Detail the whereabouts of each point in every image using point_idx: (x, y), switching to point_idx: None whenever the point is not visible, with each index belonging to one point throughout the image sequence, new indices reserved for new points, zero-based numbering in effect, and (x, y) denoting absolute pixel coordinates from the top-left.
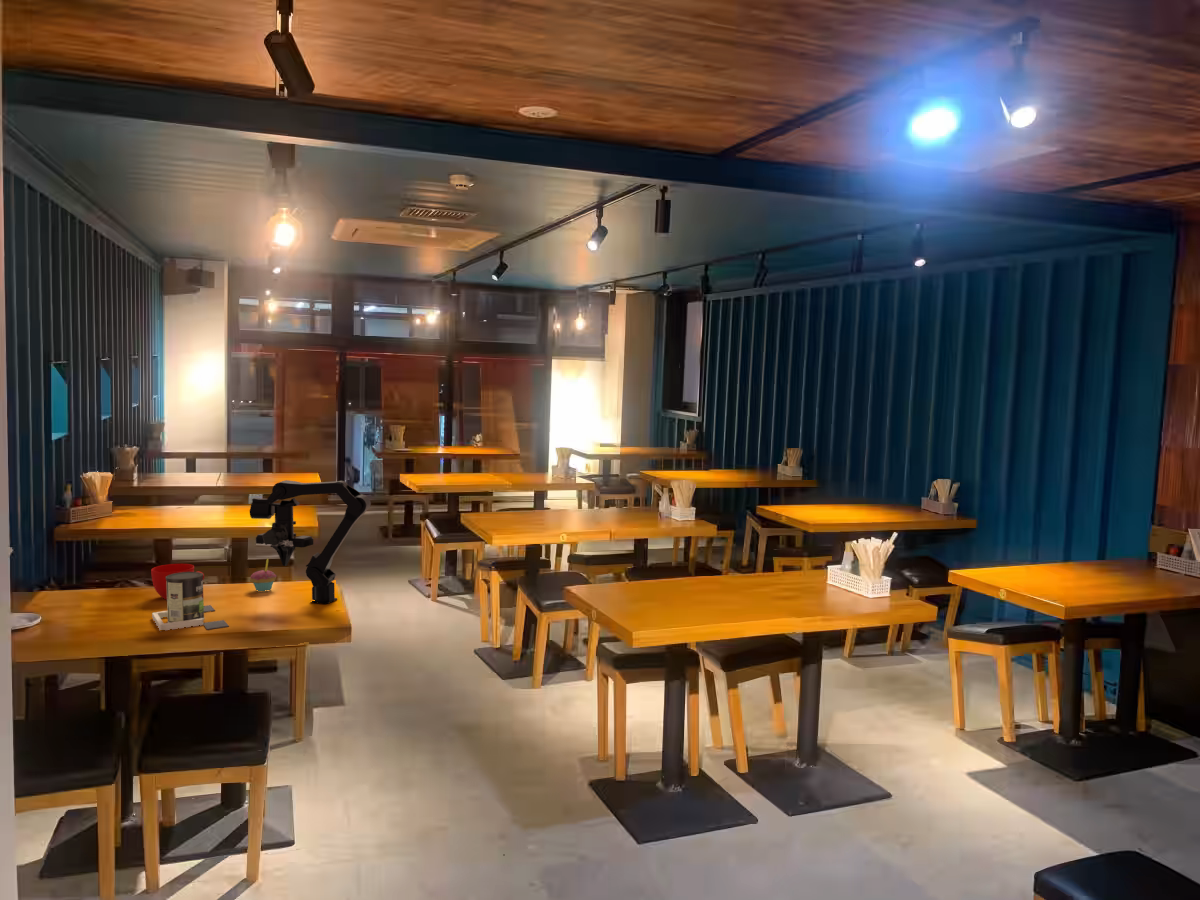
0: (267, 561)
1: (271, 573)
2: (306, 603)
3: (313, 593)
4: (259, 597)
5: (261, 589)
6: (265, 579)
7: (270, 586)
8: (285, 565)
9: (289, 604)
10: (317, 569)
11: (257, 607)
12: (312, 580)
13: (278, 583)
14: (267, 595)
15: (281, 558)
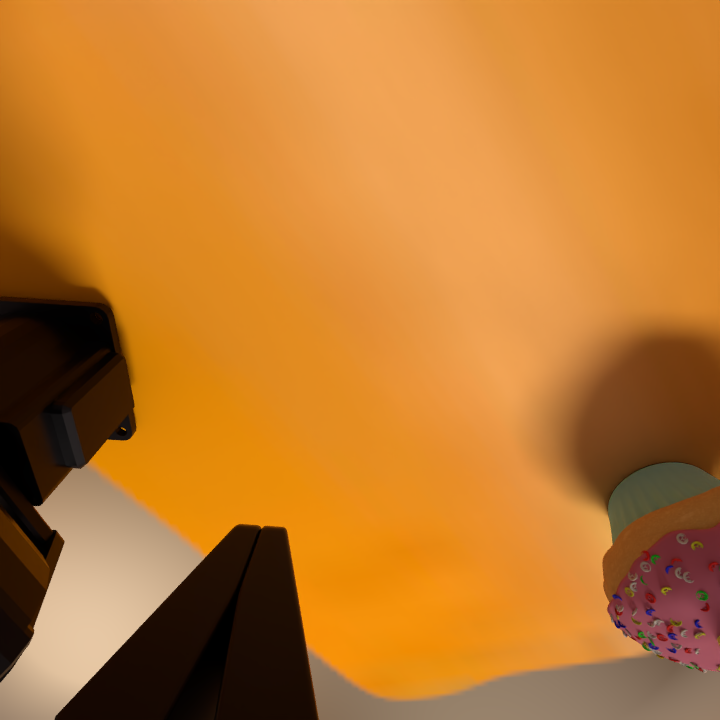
0: None
1: (657, 623)
2: (127, 285)
3: (68, 368)
4: (608, 338)
5: (665, 474)
6: (668, 532)
7: (614, 523)
8: (238, 538)
9: (232, 216)
10: None
11: (457, 8)
12: None
13: None
14: (568, 402)
15: (256, 667)
